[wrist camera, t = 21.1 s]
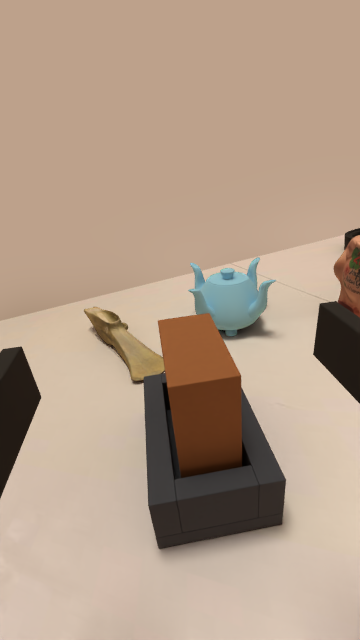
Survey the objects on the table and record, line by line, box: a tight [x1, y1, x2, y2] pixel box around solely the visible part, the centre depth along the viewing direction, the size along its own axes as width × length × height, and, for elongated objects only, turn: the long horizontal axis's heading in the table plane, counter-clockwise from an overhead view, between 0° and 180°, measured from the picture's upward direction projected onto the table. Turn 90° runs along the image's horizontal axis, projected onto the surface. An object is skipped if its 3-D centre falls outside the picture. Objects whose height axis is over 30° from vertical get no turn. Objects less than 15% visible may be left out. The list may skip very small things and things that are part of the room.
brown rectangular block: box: [158, 313, 242, 478], centre depth 28 cm, size 5×10×12 cm, turn 7°
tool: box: [84, 307, 165, 381], centre depth 51 cm, size 22×6×5 cm, turn 33°
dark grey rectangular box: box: [144, 373, 286, 549], centre depth 30 cm, size 10×15×6 cm, turn 7°
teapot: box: [188, 258, 276, 336], centre depth 53 cm, size 13×13×10 cm
